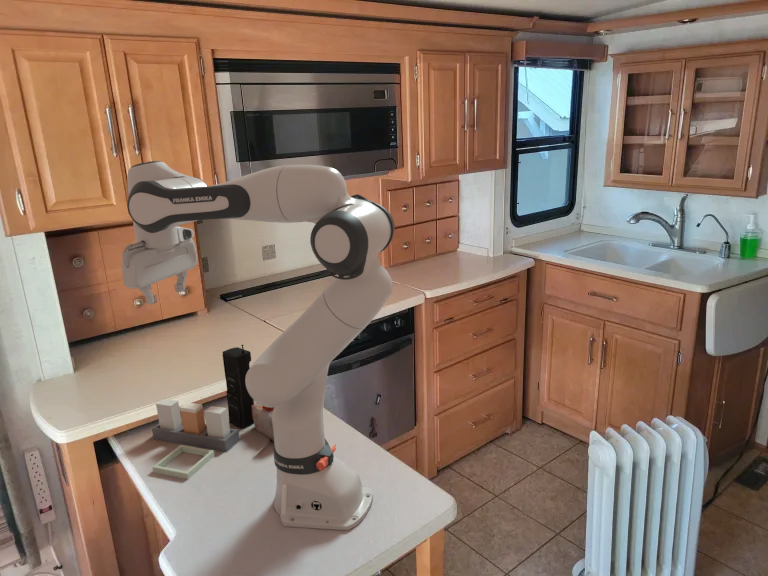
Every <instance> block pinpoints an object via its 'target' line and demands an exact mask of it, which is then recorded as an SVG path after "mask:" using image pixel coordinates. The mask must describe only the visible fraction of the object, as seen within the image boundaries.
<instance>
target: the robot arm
mask: <svg viewBox="0 0 768 576" xmlns="http://www.w3.org/2000/svg"><path fill="white" fill-rule="evenodd" d="M126 178H127V179H126V180H127V181H126V183H127V184H126V185H127V192H128V193H127V194H128V198H127V211H128V214H129V217H130V218H131V220H132V221H133V222H132V223H133V231H134V238H135V243H130V244H127V245H126V247H125V248H124V249H123V252H122V253H121V256H122V257H121V258H122V261H121V268H122V269H121V270H122V280H123V281H122V282H123V285H124V286H125V287H126V288H128V289H131V290H132V289H133V290H139V291H140V292H141V294H142V295H143V296H144V298H145V303H146V304H147V305H154V304H156V303H157V302H158V299H157V294H153V293H152V291H151V290H152V288H153V287H152V284H153V285H154V284H156V283H159V282H161V281H164V280H166V279H169V278H171V277H174V276H176V283H175V284H174V285H173V286H174V291H175V292H176V293H183V292H184V291H185V290H186V285H185V284H186V280H187V276H188V273H187V271H190V270H192V269H195V268H196V267H197V265H198V255H197V248H196V243H195V241H194V239H193V238H194V237H195V232H194V230H193V229H192V228H189V227H188V228H187V227H182V225H183V226H184V225H187V224H190V223H194V222H197V221H207V220H236V221H237V220H238V221H254V222H262V223H265V222H266V223H283V224H285V223H287V224H288V223H289V224H291V223H304V222H306V223H313V224H314V226H313V227H312V229H311V232H310V239H309V240H310V242H309V243H310V247H311V250H312V252H313V254H314V256H315V258H316V259H317V260H318V262H319V263H320V264H321V265H322V266H323V268H325V269H326V271H327V272H328V274H329V275H330V276H331V277H332V278H333V280H332V281H331V282H330V283H329V284H328V285H327V286H326V287H325V289H323V291H322V292H321V293H320V294H319V295H318V296H317V297H316V299H314V301H313V302H312V303H311V304H310V305H309V307H308V308H307V309H306V310H305V311H304V312H303V313H302V314H301V315H300V316H298V318H297V319H295V321H294V322H293V323H291V325H289V326H288V327H287V328H286V329H285V330H284V331H283V332H282V333H281V334H280V335H279V336H278V337H277V338H276V339H275V340H274V341H273V342H272V343H271V344H270V345H269V346H268V347H267V348H266V349H265V350H264V351H263V352H262V353H261V354H260V355H259V356H258V357H257V359H256V360H255V361H253V363H252V365H251V366H250V369H249V370H248V372H247V374H246V378H245V383H246V388H247V391H248V393H249V394H250V396H251V397H252V398H253V400H254V402H256V403H258V404H260V405H262V406H265V407H270V408H272V407H275V408H274V410H273V414H272V425H273V434H274V441H273V442H274V445H273V459H274V460H273V462H274V466H275V467H276V485H275V486H276V489H275V495H274V500H273V507H274V510H275V511H276V513H277V514H278V515H279V516H280V522H281V524H282V525H283V526H284V527H293V528H294V527H295V528H296V527H297V528H307V529H308V528H309V529H310V528H311V529H323V530H336V531H337V530H338V531H339V530H340V531H349V530H351V529H353V528H355V527H356V526H357V525H359V523H361V522H362V521H363V519H365V517H366V516H367V514H368V512H369V511H370V509H371V507H372V505H373V500H374V495H373V490H372V489H371V488H370V487H367V486H364V485H362V481H361V478H360V475H359V473H358V472H357V471H356V470H354V469H353V468H351V467H350V466H348V464H346V462H343V461H342V460H341V459H339V458H338V457H336V456H335V455H334V453H335V451H336V450H337V447H336V446H337V444H334V445H333V446H332V447H331V446H330V444H329V443H328V440H327V439H326V437H325V436H326V435H325V424H324V422H325V421H324V405H325V404H324V402H325V394H326V387H327V380H328V374H329V373H328V372H329V368H330V363H331V362H333V361H334V359H336V358H337V356H339V355H340V353H342V352H343V351H344V350H345V349H346V348H347V347H348V346H349V344H351V342H353V340H354V339H355V338H357V337H358V336H359V335H360V334H361V333H362V332H363V330H365V329H366V327H367V326H368V325H370V323H371V322H372V321H373V320H374V318H375V317H376V316H377V315H378V314H379V313H380V311H381V310H382V308H384V307H385V304H386V303H387V301H388V299H389V298H390V296H391V294H392V292H393V284H394V283H393V280H392V277H391V275H390V273H389V272H388V271H387V269H386V268H385V267H384V266H383V265H381V264H382V263H381V262H380V258H379V255H378V254H380V253H382V252H383V251H385V250H386V249H387V248H388V247H389V246H390V244H391V242H392V240H393V237H394V235H395V231H396V230H395V228H396V227H395V226H396V225H395V220H394V217H393V216H392V214H391V212H390V211H389V210H388V209H387V208H386V207H384V206H382V205H381V204H379V203H376V202H374V201H372V200H370V199H368V198H367V197H365V196H362V195H361V194H357V193H356V194H353V195H350V194H349V192H348V188H347V187H348V185H347V182H346V180H345V178H344V175H342V173H341V172H340V171H339V170H338V169H336V168H333V167H331V166H324V165H317V164H284V165H277V166H273V167H268V168H264V169H260V170H258V171H254V172H252V173H251V172H250V173H249V174H246V175H243V176H242V175H241V176H240V177H237V178H234V179H231V180H227V181H225V182H221V183H217V184H213V185H208V184H207V183H206V182H205V181H204V180H203V179H201V178H199V177H195V176H191V175H187V174H184V173H182V172H179V171H177V170H174V169H172V168H171V167H170V166H168V164H167V163H166V162H164V161H161V160H151V161H146V162H145V161H144V162H141V163H137V164H134V165H132V166H130V167H129V168H128V171H127V176H126Z"/></svg>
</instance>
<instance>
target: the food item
mask: <svg viewBox="0 0 768 576" xmlns="http://www.w3.org/2000/svg"><path fill="white" fill-rule="evenodd" d="M274 408H275V407H272V408H270V407H265V406H262V405H260V404H258V403H257V402H256V403H254V405H252V417H253V420H254V424H253V425H254V429H255V430H256V431H257V432H258V433H260V434H263V435H264V436H265V437H267V438H268V439H270V440H271V441H273V442H274V434H273V425H272V414H273V410H274Z"/></svg>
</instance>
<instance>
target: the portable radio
mask: <svg viewBox="0 0 768 576" xmlns="http://www.w3.org/2000/svg"><path fill="white" fill-rule="evenodd" d="M240 346H241V347H238V346H237V347H232V348H229V349H225V350H224V351H222V362H223V369H224V376H225V377H224V378H225V384H226V398H227V399H226V401H227V411H228V418H229V425H232V426H235V427H237V429H238V428H239V430H240V429H241V430H242V429H246V428H248V427H250V426H251V425H254V420H253V417H252V405H254V404H255V401H254V400H253V398H252V397H251V396H250V394H249V393H248V391H247V388H246V383H245V378H246V374H247V372H248V370H249V369H250V367H251V366H250V363H251V361H252V354H251V351H250V350H249V351H248V350H246V349H244V344H241V345H240Z"/></svg>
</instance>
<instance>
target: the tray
mask: <svg viewBox="0 0 768 576" xmlns="http://www.w3.org/2000/svg"><path fill="white" fill-rule="evenodd" d="M181 453H187V454H193V455H199V456H203V457H202V458H201V459H200V460H198V461H197V462H196V463H195V464H194V465H193V466H191V467H190V468H189V469H188V470H180V469H177V468H171V467H165V466H166V465H168V463H170V462H171V461H172V460H174V459H175V458H176V457H178V456H179V455H180V454H181ZM214 457H216V454H215V450H210V449H204V448H198V447H193V446H187V445H182V444H179V445H178V446H177V447H176V448H175V449H173V450H172V451H170V452H169V453H168V454H167V455H166V456H165V457H163V458H162V459H160V460H159V461H158V462H157V463H155V464H154V465H153V466H152V471H153V473H155V474H160V475H164V476H169V477H173V478H179V479H184V480H190V479H191V478H192V477H193V476H194V475H195V474H196V473H198V472H199V470H201V469H202V468H204V466H205V465H207V464H208V463H209V462H210V461H211V460H212V459H213V458H214Z"/></svg>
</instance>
